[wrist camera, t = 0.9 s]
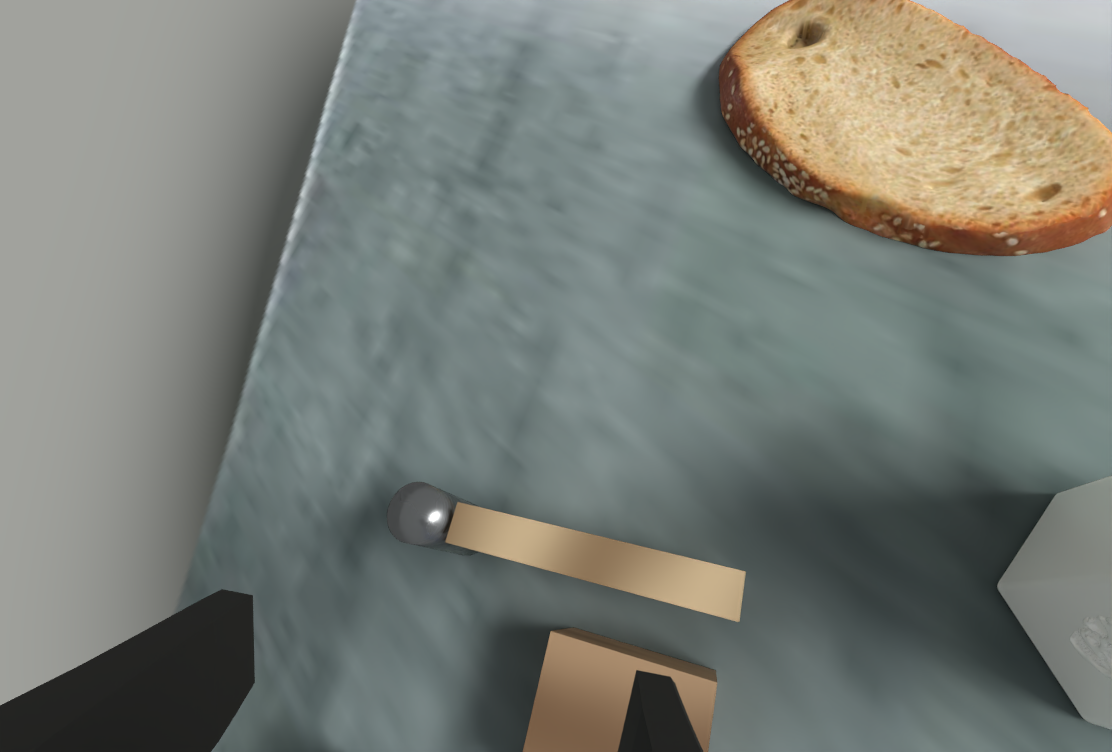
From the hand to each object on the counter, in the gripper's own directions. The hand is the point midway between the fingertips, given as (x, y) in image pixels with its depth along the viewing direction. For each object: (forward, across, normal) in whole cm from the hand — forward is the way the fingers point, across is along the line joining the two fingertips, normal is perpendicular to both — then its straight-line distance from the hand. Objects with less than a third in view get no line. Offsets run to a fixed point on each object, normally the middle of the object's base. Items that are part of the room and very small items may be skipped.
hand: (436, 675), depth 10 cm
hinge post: (+15, +3, +7) cm, 17 cm away
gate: (+13, -4, +6) cm, 15 cm away
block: (+10, -6, +11) cm, 16 cm away
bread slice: (+26, -16, -16) cm, 34 cm away
